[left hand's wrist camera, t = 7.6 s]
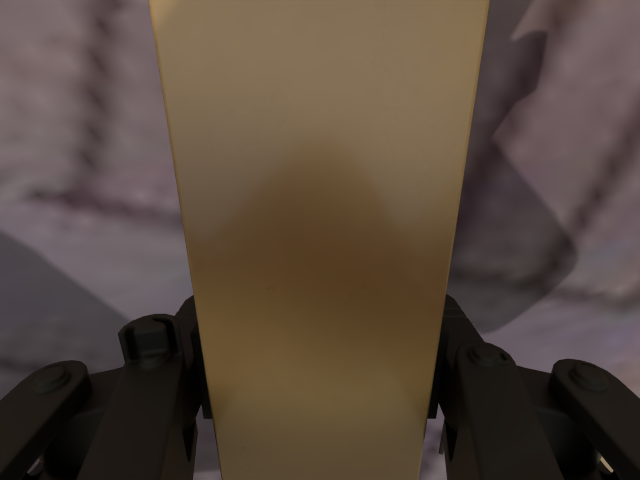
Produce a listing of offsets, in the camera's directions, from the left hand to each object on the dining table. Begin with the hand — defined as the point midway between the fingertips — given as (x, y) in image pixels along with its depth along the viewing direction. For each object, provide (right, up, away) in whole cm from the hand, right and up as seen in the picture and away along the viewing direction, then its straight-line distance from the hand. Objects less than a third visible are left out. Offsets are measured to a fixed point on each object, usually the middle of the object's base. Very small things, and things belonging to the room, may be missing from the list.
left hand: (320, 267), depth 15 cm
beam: (0, +23, -8) cm, 24 cm away
